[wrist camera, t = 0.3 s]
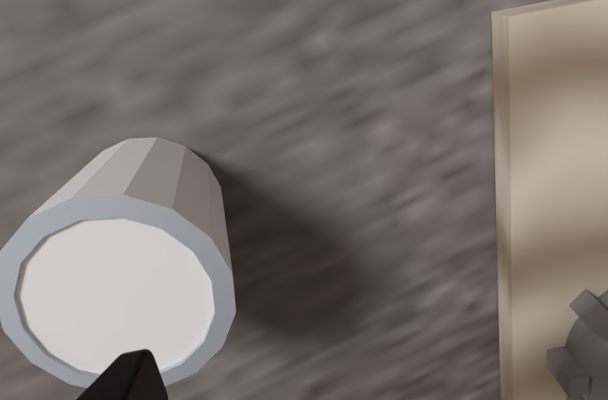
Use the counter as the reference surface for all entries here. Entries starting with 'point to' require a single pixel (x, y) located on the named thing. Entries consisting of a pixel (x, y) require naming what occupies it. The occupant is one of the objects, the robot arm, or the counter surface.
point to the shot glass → (122, 266)
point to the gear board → (552, 198)
